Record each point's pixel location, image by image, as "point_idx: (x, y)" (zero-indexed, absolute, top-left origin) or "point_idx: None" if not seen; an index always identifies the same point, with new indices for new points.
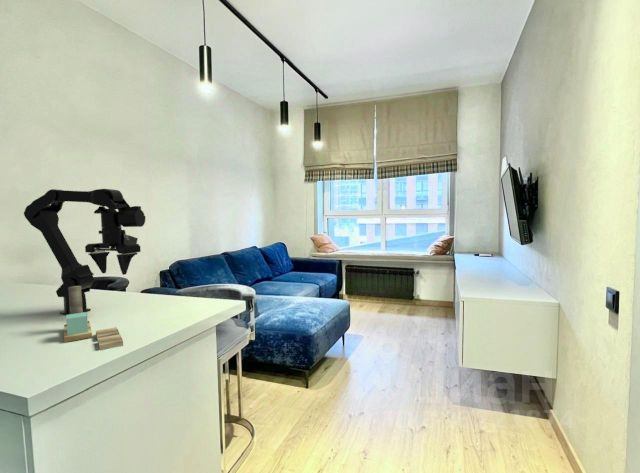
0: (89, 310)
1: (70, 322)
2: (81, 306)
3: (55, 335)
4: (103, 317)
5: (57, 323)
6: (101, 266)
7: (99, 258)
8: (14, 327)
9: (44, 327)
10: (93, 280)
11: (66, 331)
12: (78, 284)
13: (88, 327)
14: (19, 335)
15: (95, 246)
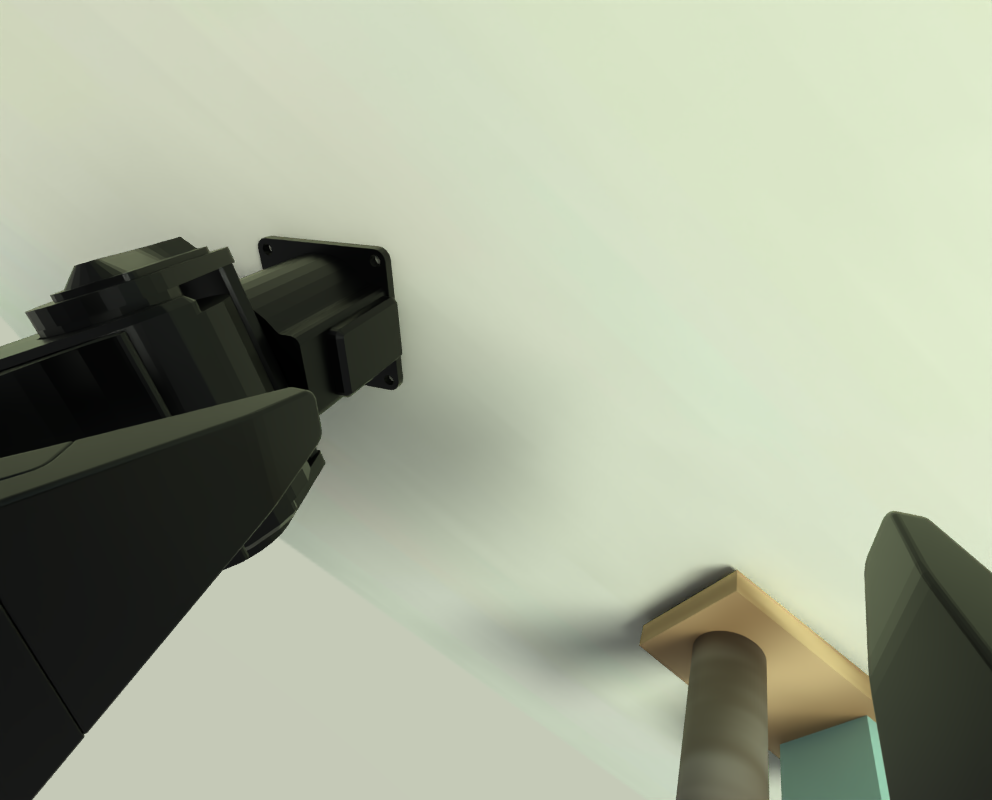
0: (390, 263)
1: None
2: (768, 781)
3: (680, 684)
4: (666, 390)
5: (482, 520)
6: (224, 535)
7: (38, 690)
8: (357, 571)
9: (488, 576)
10: (198, 312)
11: (777, 747)
12: (291, 513)
13: (868, 709)
14: (503, 663)
15: None
